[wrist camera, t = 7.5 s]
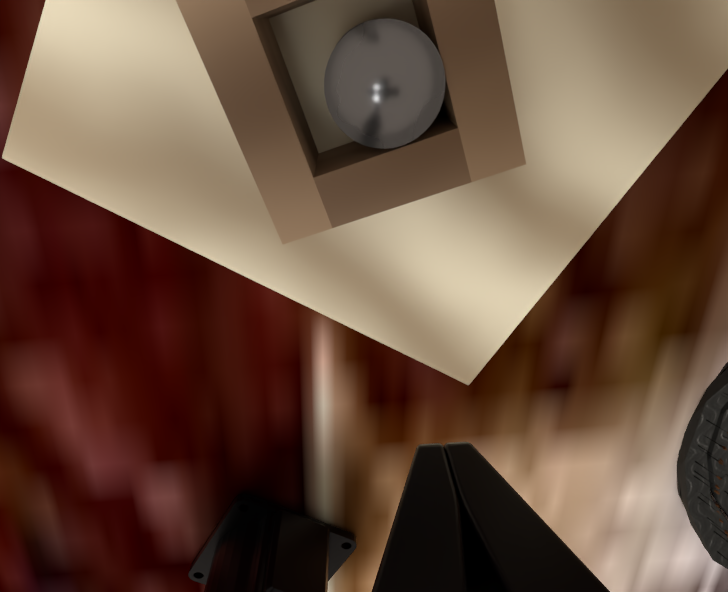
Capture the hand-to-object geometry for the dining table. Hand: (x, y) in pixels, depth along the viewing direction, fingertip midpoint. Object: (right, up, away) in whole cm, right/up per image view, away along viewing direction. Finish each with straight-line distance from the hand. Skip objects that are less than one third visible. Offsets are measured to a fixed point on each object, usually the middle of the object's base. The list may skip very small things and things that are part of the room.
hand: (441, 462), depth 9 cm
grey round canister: (-1, +10, +8) cm, 13 cm away
